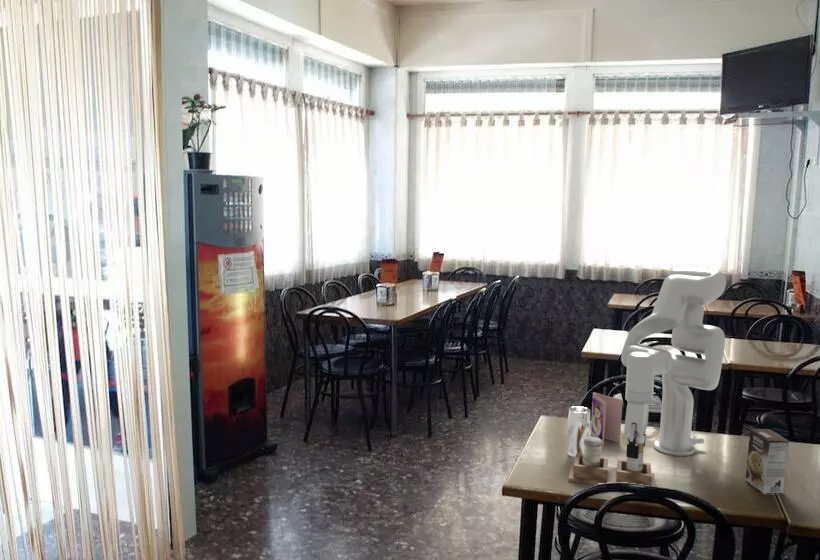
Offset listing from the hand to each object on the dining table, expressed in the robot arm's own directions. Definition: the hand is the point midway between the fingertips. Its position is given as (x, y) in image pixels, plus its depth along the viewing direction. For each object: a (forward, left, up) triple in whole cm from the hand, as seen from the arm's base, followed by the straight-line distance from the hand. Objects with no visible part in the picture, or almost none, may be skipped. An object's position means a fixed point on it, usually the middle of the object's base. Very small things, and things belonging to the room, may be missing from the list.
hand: (635, 451), depth 195 cm
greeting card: (-7, -32, -9) cm, 34 cm away
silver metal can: (+8, -21, -9) cm, 24 cm away
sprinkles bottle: (0, 0, -8) cm, 8 cm away
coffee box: (-36, +9, -9) cm, 38 cm away
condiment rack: (+6, -2, -9) cm, 11 cm away
